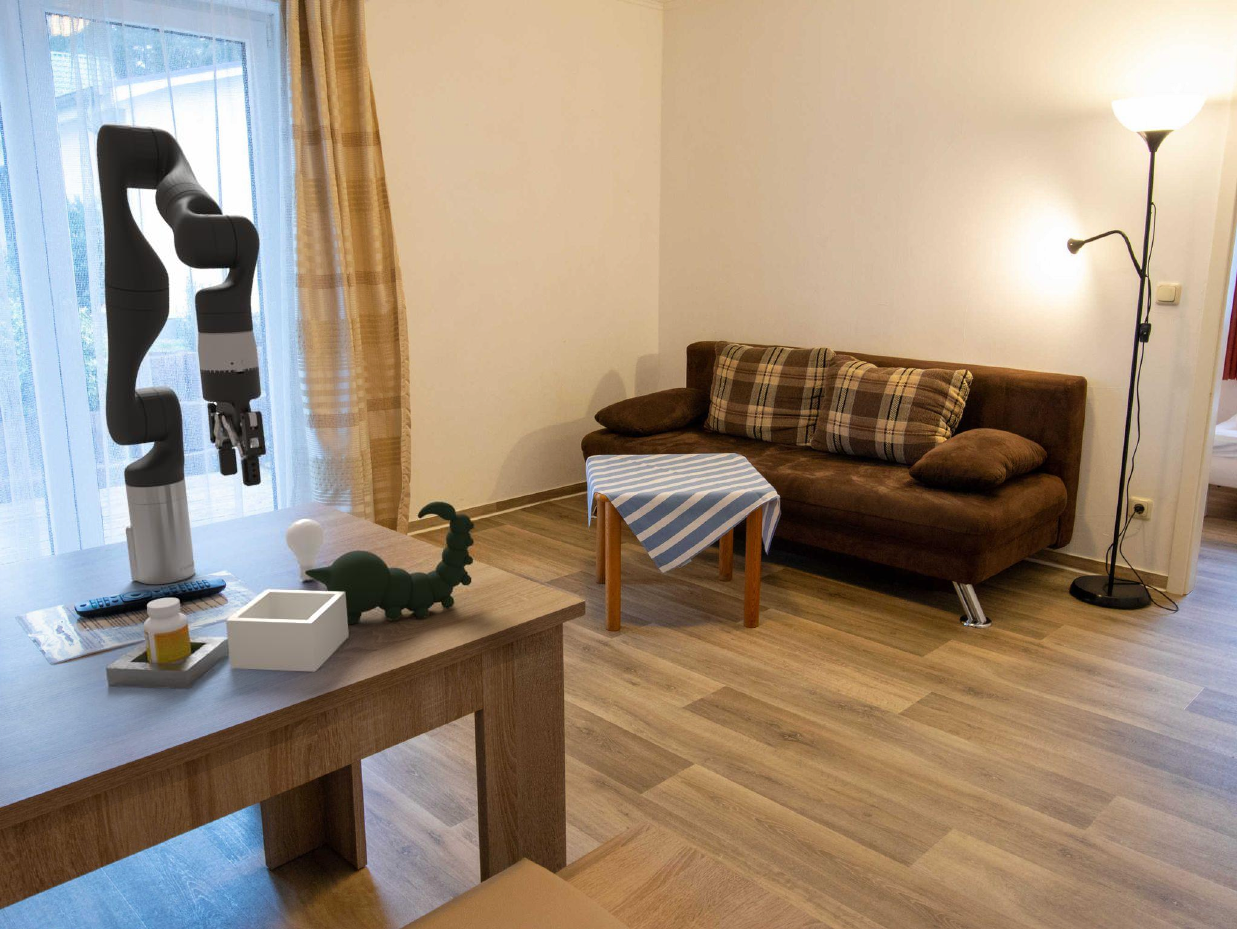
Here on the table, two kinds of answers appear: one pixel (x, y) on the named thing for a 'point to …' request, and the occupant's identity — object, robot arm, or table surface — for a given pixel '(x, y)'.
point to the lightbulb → (305, 543)
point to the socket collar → (168, 666)
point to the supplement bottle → (166, 632)
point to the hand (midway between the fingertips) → (240, 479)
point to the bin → (287, 630)
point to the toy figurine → (402, 574)
